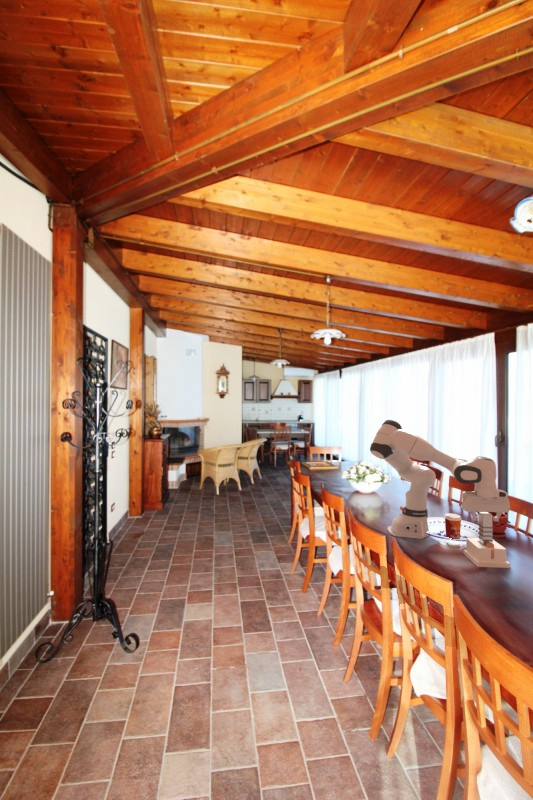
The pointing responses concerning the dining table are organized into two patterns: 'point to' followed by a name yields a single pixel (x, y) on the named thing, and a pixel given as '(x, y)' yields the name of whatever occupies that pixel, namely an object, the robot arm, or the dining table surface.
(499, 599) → the dining table surface
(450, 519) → the coffee cup
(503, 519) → the plant pot
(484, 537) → the column
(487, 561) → the sleeve stand
